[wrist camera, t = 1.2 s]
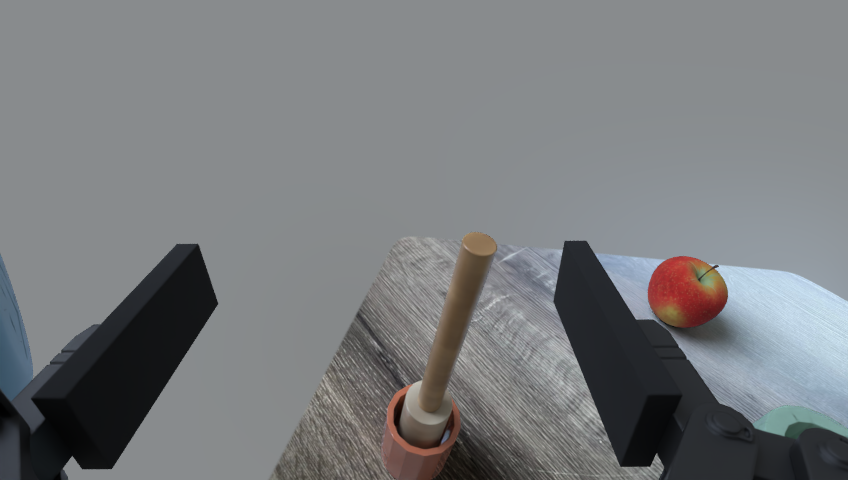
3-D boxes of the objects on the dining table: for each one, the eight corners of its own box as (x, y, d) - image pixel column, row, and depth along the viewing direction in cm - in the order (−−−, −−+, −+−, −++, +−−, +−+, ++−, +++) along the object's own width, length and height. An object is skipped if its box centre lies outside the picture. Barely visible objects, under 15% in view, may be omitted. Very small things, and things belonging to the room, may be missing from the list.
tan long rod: (385, 442, 37) (430, 234, 21) (417, 418, 39) (479, 213, 23) (410, 478, 35) (480, 279, 20) (443, 451, 37) (529, 252, 22)
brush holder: (367, 441, 37) (372, 408, 33) (419, 405, 41) (429, 370, 37) (407, 501, 34) (417, 472, 30) (459, 456, 38) (475, 425, 34)
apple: (674, 291, 59) (718, 236, 52) (711, 340, 53) (766, 286, 46) (622, 291, 57) (661, 235, 50) (655, 342, 51) (703, 286, 45)
